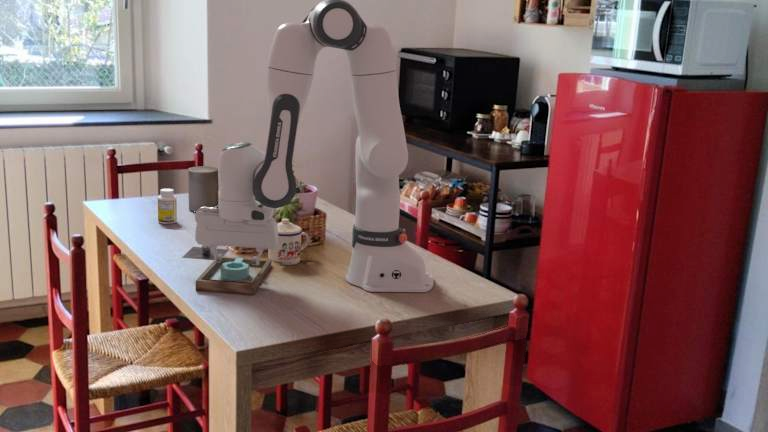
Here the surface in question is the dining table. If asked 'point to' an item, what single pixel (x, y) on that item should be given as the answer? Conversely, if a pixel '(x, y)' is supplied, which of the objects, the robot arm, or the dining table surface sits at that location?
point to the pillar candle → (203, 187)
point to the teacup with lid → (288, 244)
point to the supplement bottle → (167, 207)
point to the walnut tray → (231, 286)
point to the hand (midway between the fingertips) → (236, 263)
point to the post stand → (203, 253)
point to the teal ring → (235, 270)
